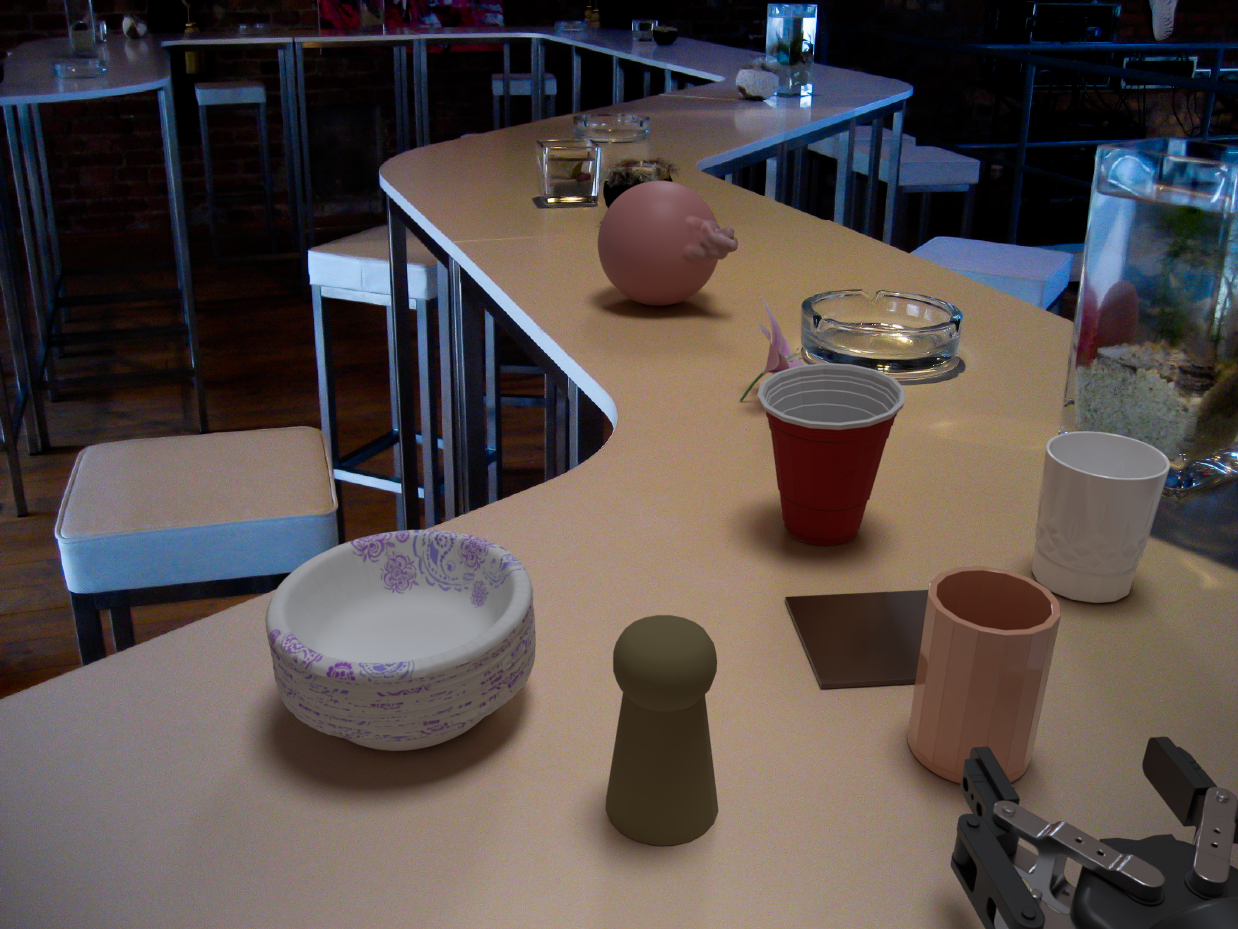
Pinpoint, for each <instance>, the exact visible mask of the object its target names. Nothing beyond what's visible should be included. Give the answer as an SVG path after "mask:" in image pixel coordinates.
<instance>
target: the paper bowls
mask: <svg viewBox="0 0 1238 929" xmlns="http://www.w3.org/2000/svg"><path fill="white" fill-rule="evenodd" d="M264 619H265V631H266V636H267V641H268V646H269V650H270V657H271V660H272V669H273V675H274V680H275V683H276V687H277V691H278V693H279V696H280V698H281V700H282V703H283V704H284V706H285V707H286V708H287V709H288V710H289V712H290V713H291V714H294V715H293V716H294V717H295V718H296V719H298V720H299V721H300V722H302V723H303V724H304V725H305V724H306V725H307V726H309V727H310V728H312V729H315V730H317V731H318V732H321V733H324V734H326V735H327V736H328V735H329V736H333V737H337V738H340V739H346V740H347V741H350V742H351V743H353V744H356V745H359V746H362V747H365V748H369V749H374V750H380V751H391V752H397V751H398V752H399V751H400V752H402V751H412V750H413V751H415V750H421V749H424V748H429V747H434V746H437V745H440V744H442V743H446V742H448V741H450V740H452V739H455V738H457V737H459V736H461V735H462V734H464V733H466V732H467V731H469V730H470V729H473V727H475V726H476V725H477V724H478V723H479V722H481V721H482V720H483V719H484V718H486V717H488V716H489V715H491V714H492V713H494V712H496V711H497V710H498V709H499V708H501V707H502V706H504V705H506V704H507V703H508V702H509V701H510V700H511V699H513V698H514V697H515V696H516V695H517V694H518V693H519V691H521V689H522V688H523V686H525V684H526V682H527V681H528V679H529V677H530V676H531V673H532V671H533V668H534V664H535V661H536V660H535V659H536V647H537V646H536V645H537V637H536V636H537V635H536V633H537V631H536V616H535V608H534V588H533V584H532V581H531V578H530V575H529V573H528V572H527V570H526V567H525V566H524V564H523V562H521V561H520V559H519V558H517V556H515V555H514V554H513V553H512V552H511V551H509V550H507V549H506V548H504V547H503V546H501V545H499V544H498V543H495V542H493V541H490V540H488V539H486V538H482V537H480V536H474V535H472V534H468V533H463V532H457V531H449V530H442V529H441V530H440V529H439V530H438V529H408V530H398V531H397V530H396V531H390V532H388V531H387V532H382V533H376V534H371V535H368V536H363V537H360V538H356V539H354V540H350V541H347V542H344V543H341V544H338V545H335V546H334V547H331V548H330V549H328V550H325V551H323V552H321V553H319V554H317V555H315V556H313V557H312V558H310V559H308V560H306V561H305V562H303V563H302V564H300V565H299V566H298V567H296V568H295V569H294V570H292V572H290V573H289V574H288V575H287V576H286V577H285V578H284V579H283V580H282V582H281V583H280V584H279V585H278V587H277V588H276V589H275V590H274V592H273V594H272V596H271V598H270V600H269V602H268V605H267V608H266V612H265V618H264Z"/></svg>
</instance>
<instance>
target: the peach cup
mask: <svg viewBox="0 0 1238 929" xmlns="http://www.w3.org/2000/svg"><path fill="white" fill-rule="evenodd" d="M927 590H928V595H927V602H926V609H925V616H924V623H923V630H922V637H921V644H920V651H919V658H918V665H917V672H916V679H915V684H914V687H913V694H912V701H911V708H910V714H909V715H910V716H909V722H908V730H907V743H908V746H909V748H910V752H911V753H912V754H913V756H914V757H915V759H916V760H917V761H918V762H919V763H920V764H921V765H922V766H924V767H925V768H926V769H927V770H929V771H930V772H932V773H933V774H935V775H936V776H939V777H940V778H942V779H945V780H948V781H950V782H953V783H956V784H959V785H961V780H962V774H963V768H964V762H965V759H969V757H970V751H971V749H972V748H974V747H989V748H990V749H991V751H992V753H993V754H994V756H995V758H996V759H997V761H998V763H999V764H1000V766H1001V768H1002V769H1003V771H1004V773H1005V774H1006V776H1007V778H1008V780H1009V781H1010V783H1011V784H1012V783H1014V782H1015V781H1017V780H1018V779H1020V778H1021V777H1022V776H1023V775H1024V774H1025V773H1026V772H1027V770H1028V769H1029V765H1030V762H1031V759H1032V757H1033V752H1034V749H1035V748H1034V747H1035V742H1036V737H1037V732H1038V728H1039V724H1040V718H1041V713H1042V709H1043V704H1044V699H1045V695H1046V690H1047V689H1046V688H1047V685H1048V681H1049V675H1050V669H1051V665H1052V660H1053V656H1054V651H1055V645H1056V641H1057V638H1058V632H1059V627H1060V622H1061V616H1062V615H1061V613H1062V612H1061V605H1060V601H1059V600H1058V599H1057V598H1056V597H1055V595H1054V594H1053V592H1051V591H1050V590H1048V589H1047V588H1046V587H1044V586H1043V585H1041V584H1040V583H1039V582H1038V581H1037V580H1034V579H1032V578H1030V577H1029V576H1026V575H1022V574H1020V573H1017V572H1013V571H1011V570H1008V569H1003V568H996V567H988V566H985V565H984V566H982V565H975V566H959V567H955V568H951V569H949V570H945V571H942V572H939V573H938V574H937V575H936V576H935V577H934V578H933V579H932V580H931V581H929V583H928V589H927Z"/></svg>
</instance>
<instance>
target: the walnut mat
mask: <svg viewBox="0 0 1238 929" xmlns="http://www.w3.org/2000/svg"><path fill="white" fill-rule="evenodd" d="M927 595H928V589H918V590H917V589H915V590H895V591H875V592H856V593H855V592H854V593H835V594H814V595H792V596H791V595H789V596H784V602H785V605H786V608H787V610H788V612H789V614H790V617H791V619H792V621H793V624H794V626H795V629H796V631H797V633H798V636H799V638H800V641H801V643H802V646H803V648H804V651H805V653H806V656H807V658H808V660H809V663H810V665H811V668H812V670H813V673H814V675H815V677H816V680H817V682H818V684H819V688H820V689H821V690H823V689H840V688H841V689H842V688H843V689H844V688H859V687H862V688H863V687H877V686H878V687H880V686H895V685H913V684H914V685H915V679H916V672H917V665H918V658H919V651H920V644H921V637H922V630H923V623H924V616H925V609H926V602H927Z"/></svg>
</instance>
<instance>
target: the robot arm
mask: <svg viewBox="0 0 1238 929" xmlns="http://www.w3.org/2000/svg"><path fill="white" fill-rule="evenodd" d="M1141 768H1142V771H1143V775H1144V777H1145V778H1146V779H1147V780H1148V782H1149V783H1150V785H1151V786H1152V787H1153V789H1154V790H1155V791H1156V792H1157V793H1158V795H1159V796H1160V798H1161V799H1162V800H1163V801H1164V803H1165V804H1166V805H1167V807H1168V808H1169V809H1170V811H1171V812H1172V813H1173V815H1174V816H1175V817H1176V819H1177V820H1178V821H1179V823H1180V824H1181V825H1182V826H1183V828H1188V827H1194V828H1195V829H1194V833H1193V838H1192V843H1190V842H1187V841H1184V840H1179V839H1176V837H1175V836H1174V835H1173V834H1172V833H1167V834H1154V835H1151V836H1147V837H1145V838H1141V839H1131V838H1124V837H1123V838H1122V837H1109V838H1099V840H1098V839H1097V838H1095V837H1093V836H1092V835H1090V834H1088V833H1086V832H1084V831H1083V830H1081V829H1079V828H1078V827H1075V826H1074V825H1072V824H1071V823H1068V822H1066V821H1063V820H1058V821H1056V822H1055V823H1052V822H1049V821H1047V820H1045V819H1043V818H1042V817H1040V816H1038V815H1036V814H1035V813H1033V812H1031V811H1030V810H1028V809H1026V808H1024V807H1023V806H1021V805H1020V801H1021V798H1020V797H1019V795H1018V793H1017V791H1016V790H1015V787H1014V786H1013V784H1012V782H1011V783H1010V781H1009V780H1008V778H1007V776H1006V774H1005V773H1004V771H1003V769H1002V768H1001V766H1000V764H999V763H998V761H997V759H996V758H995V756H994V754H993V753H992V751H991V749H990V748H989V747H974V748H972V749H971V751H970V757H969V759H965V762H964V768H963V774H962V780H961V784H960V793H961V795H962V796H963V798H964V800H965V802H966V804H967V806H968V808H969V809H970V811H971V813H964V814H961V815H960V816H959V817H958V819H957V824H956V837H955V842H954V847H953V851H952V854H951V857H950V858H951V859H950V868H951V870H952V872H953V873H954V875H955V877H956V879H957V881H958V882H959V884H960V886H961V888H962V890H963V891H964V893H965V895H966V897H967V899H968V901H969V902H970V904H971V906H972V907H973V910H974V911H975V913H976V915H977V916H978V918H979V921H980V922H981V924H982V926H983V927H984V929H1238V868H1237V867H1235V866H1233V865H1231V857H1232V850H1233V844H1235V845H1238V797H1237V795H1236V794H1234V792H1232V791H1230V790H1228V789H1227V788H1223V787H1221V786H1220V787H1219V786H1218V785H1217V784H1216V782H1214V780H1213V779H1212V778H1211V777H1210V776H1209V774H1208V773H1207V772H1206V770H1204V769H1203V768H1202V766H1201V764H1199V763H1198V762H1197V760H1196V759H1195V758H1194V757H1193V755H1192V754H1191V753H1190V752H1189V751H1186V750H1185V749H1184V748H1183V747H1181V746H1177V745H1176V744H1175V743H1174V742H1173V740H1172V739H1171V738H1170V737H1168V736H1151V737H1149V738H1148V741H1147V744H1146V748H1145V752H1144V755H1143V759H1142V764H1141ZM1020 839H1021V840H1022V841H1025V843H1028V844H1030V845H1031V846H1033V847H1034V848H1035V849H1036V851H1037V854H1036V853H1034V852H1033V851H1031V850H1029V849H1027V848H1026V847H1024V846H1022V845H1021V844H1020V843H1019V842H1020ZM1068 858H1069V859H1071V860H1073V861H1074V862H1076V863H1078V864H1079V865H1081V868H1080V872H1079V876H1078V879H1077V881H1076V882H1077V883H1076V885H1075V886H1074V885H1072V884H1071V883H1070V882H1069V881H1068V880H1067V878H1066V875H1065V869H1066V865H1067V861H1068ZM1025 882H1026V883H1027V884H1028V886H1029V887H1028V886H1027V884H1026V883H1025ZM1029 888H1030V889H1029Z"/></svg>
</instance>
